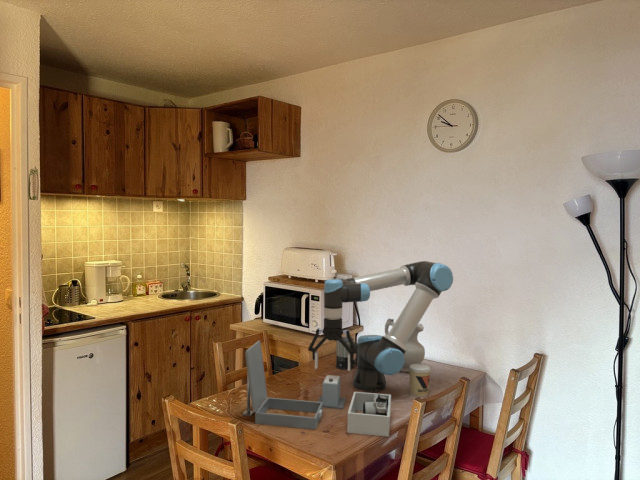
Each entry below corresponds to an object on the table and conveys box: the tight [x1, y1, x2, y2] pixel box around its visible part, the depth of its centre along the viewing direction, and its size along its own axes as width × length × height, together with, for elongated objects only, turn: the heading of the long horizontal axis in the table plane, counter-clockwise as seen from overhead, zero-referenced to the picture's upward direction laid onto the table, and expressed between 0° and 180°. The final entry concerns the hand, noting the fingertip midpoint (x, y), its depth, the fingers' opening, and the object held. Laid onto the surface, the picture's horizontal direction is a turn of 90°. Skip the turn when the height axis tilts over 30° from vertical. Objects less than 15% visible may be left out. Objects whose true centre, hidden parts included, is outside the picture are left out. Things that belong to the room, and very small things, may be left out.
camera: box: [362, 393, 388, 416], centre depth 178 cm, size 16×9×10 cm, turn 179°
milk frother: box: [335, 336, 358, 371], centre depth 245 cm, size 14×16×15 cm
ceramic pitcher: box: [384, 318, 426, 373], centre depth 242 cm, size 22×20×25 cm
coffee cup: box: [408, 363, 432, 398], centre depth 207 cm, size 9×9×12 cm
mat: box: [317, 395, 347, 410], centre depth 195 cm, size 11×11×1 cm
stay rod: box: [241, 372, 255, 417], centre depth 182 cm, size 4×4×24 cm
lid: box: [244, 340, 268, 413], centre depth 181 cm, size 23×16×1 cm
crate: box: [346, 391, 392, 438], centre depth 177 cm, size 15×22×7 cm
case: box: [254, 396, 324, 430], centre depth 179 cm, size 23×16×4 cm
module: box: [321, 374, 342, 407], centre depth 195 cm, size 6×10×10 cm, turn 170°
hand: (332, 368), depth 194 cm, fingers open, 13 cm apart
